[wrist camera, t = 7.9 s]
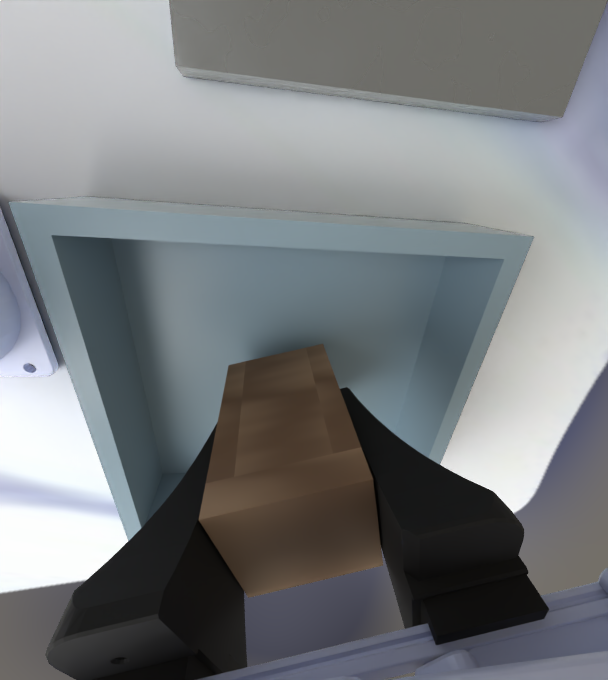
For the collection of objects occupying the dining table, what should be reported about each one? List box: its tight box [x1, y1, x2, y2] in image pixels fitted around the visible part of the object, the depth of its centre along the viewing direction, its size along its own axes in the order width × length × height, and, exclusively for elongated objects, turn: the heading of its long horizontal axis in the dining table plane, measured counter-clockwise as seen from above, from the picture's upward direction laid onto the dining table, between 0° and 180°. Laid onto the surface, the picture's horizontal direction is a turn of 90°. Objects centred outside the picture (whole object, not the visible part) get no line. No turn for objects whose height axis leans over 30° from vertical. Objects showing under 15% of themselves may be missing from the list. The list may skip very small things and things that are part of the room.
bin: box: [8, 197, 534, 541], centre depth 14 cm, size 16×16×4 cm
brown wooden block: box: [199, 344, 383, 597], centre depth 11 cm, size 4×4×7 cm
